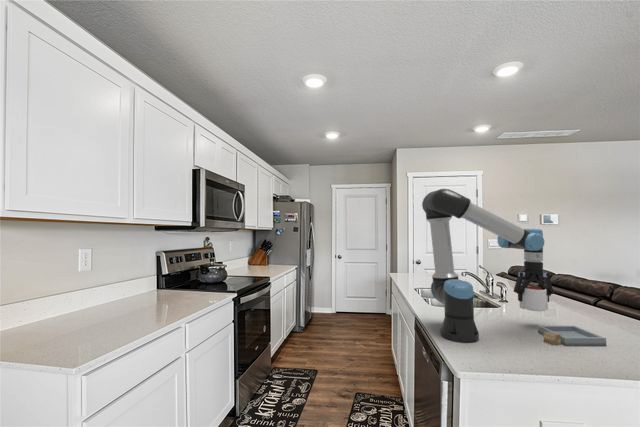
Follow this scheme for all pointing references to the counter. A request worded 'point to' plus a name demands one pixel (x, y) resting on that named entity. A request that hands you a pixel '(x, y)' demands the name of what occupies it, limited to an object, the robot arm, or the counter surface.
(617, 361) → the counter surface
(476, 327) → the robot arm
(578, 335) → the tray
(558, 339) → the oak block
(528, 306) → the cup
